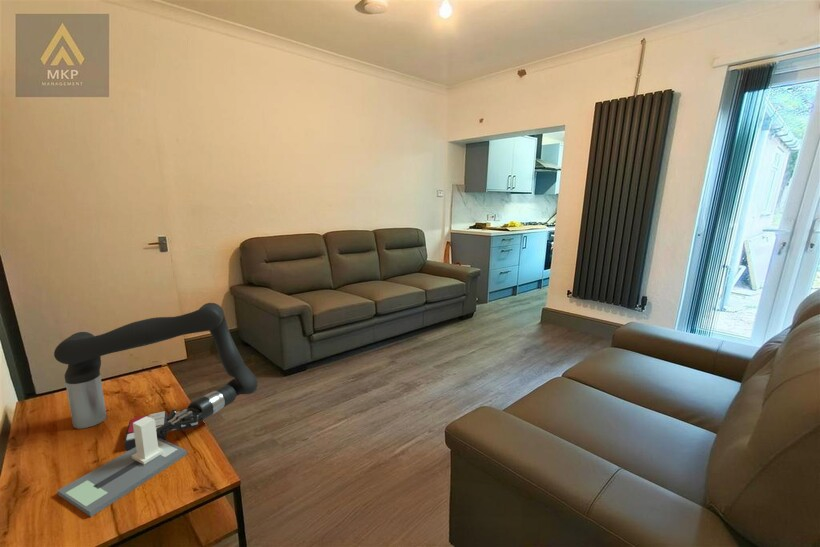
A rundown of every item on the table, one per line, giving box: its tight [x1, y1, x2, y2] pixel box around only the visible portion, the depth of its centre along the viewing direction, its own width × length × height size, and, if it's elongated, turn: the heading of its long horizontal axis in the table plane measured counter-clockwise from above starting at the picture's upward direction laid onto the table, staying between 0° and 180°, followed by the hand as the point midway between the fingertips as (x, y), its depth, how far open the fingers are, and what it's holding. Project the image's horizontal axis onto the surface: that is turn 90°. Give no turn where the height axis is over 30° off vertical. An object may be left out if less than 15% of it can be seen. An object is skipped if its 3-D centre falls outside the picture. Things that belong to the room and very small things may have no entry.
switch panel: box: [56, 438, 188, 518], centre depth 108 cm, size 16×26×2 cm, turn 156°
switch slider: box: [132, 415, 164, 464], centre depth 112 cm, size 6×6×12 cm
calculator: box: [124, 410, 168, 452], centre depth 126 cm, size 11×4×15 cm
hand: (158, 432), depth 115 cm, fingers closed
